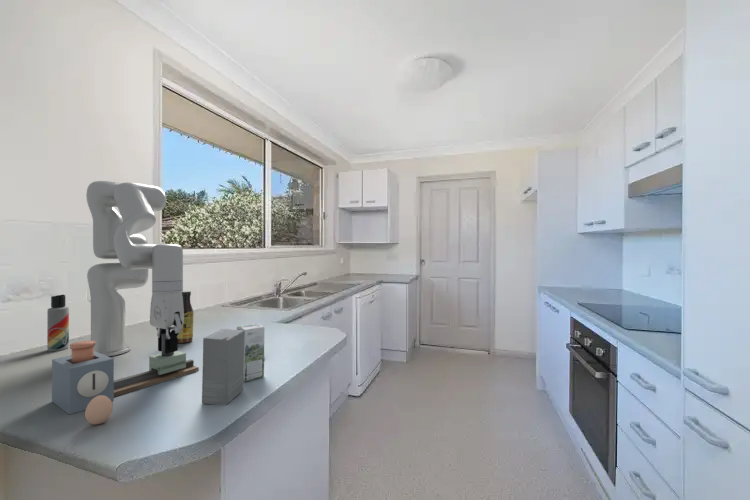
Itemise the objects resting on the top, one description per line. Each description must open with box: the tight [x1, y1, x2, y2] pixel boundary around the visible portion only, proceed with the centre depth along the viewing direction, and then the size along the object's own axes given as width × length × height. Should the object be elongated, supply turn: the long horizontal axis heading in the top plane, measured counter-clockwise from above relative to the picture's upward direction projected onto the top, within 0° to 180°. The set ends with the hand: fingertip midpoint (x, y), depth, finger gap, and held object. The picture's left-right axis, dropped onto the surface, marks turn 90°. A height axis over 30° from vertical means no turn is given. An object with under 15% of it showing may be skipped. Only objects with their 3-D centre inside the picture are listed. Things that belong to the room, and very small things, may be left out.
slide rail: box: [114, 359, 199, 397], centre depth 92 cm, size 7×21×3 cm, turn 148°
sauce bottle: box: [178, 290, 194, 344], centre depth 131 cm, size 7×6×20 cm
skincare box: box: [201, 328, 245, 406], centre depth 81 cm, size 8×7×16 cm
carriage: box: [148, 333, 187, 375], centre depth 95 cm, size 6×7×10 cm
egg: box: [84, 395, 114, 425], centre depth 69 cm, size 4×4×6 cm
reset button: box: [69, 340, 96, 364], centre depth 79 cm, size 5×5×5 cm
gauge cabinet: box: [51, 351, 115, 415], centre depth 79 cm, size 13×8×10 cm, turn 58°
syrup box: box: [236, 323, 265, 383], centre depth 94 cm, size 6×6×14 cm
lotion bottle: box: [46, 294, 70, 352], centre depth 122 cm, size 6×6×20 cm
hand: (167, 350), depth 95 cm, fingers closed on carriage, 3 cm apart
